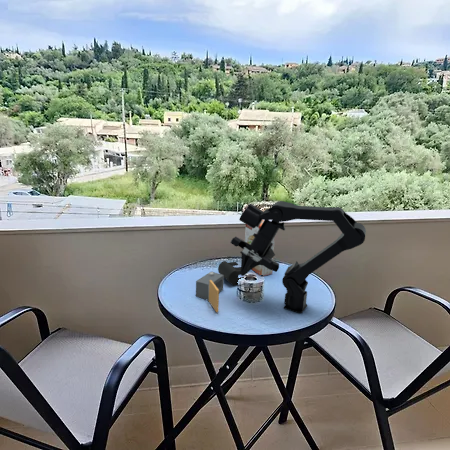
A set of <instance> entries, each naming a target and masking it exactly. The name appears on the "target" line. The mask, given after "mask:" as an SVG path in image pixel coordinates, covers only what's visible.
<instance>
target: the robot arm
mask: <svg viewBox="0 0 450 450" xmlns="http://www.w3.org/2000/svg"><path fill="white" fill-rule="evenodd" d="M262 220H264V222H263V224H262V225H261V227H260V229H259V230H258V232H257V234H255V233H254V234H253V236H254V239H253V241H252V242H251V244H248V243H247V242H245V239H242V238H240V237H237V236H234V237H233V238H232V239H231V240H230V244H232V245H233V246H234V247H236V248H237V247H238V248H241V249H242V251H240V254H241V259H240V260H241V263H240V267H241V272H240V275H239V276H241V277H245V276H246V275H247V274H248V273H249V272H251V270H252V269H253V268H254V267H256V266H258V265H263V266H265V267H266V268H268V269H270V270H273V272H276V273H277V272H278V270H279V269H280V263H279V262H277V261H275V260H274V258H273V257H275V256H276V254H275V251H274V252H273V250H272V249H271V247H272V244H273V243H271V242H272V240H273V239H274V237H275V238H276V235H277V234H278V232H279V230H281V231H283V232H284V231H286V227H285V222H288V221H293V220H304V221H305V220H306V221H307V220H308V221H309V220H311V221H323V222H324V221H325V222H326V221H327V222H333V223H334V224H335V225H336V226H337V227H338V229H339V231H340V232H341V234H340V235H339V236H338V238H337V239H335V240H334V241H333V242H331V243H330V244H328V245H327V246H325V247H324V248H323V249H321V250H320V251H319V252H317V253H316V254H314V255H313V256H311V257H310V258H309V259H307V260H305V262H302V263H299V262H298V261H297V260H296V261H295V262H294V263H293V264H292V265H290V266H289V265H288V267H287V268H286V270H285V272H284V276H283V278H282V280H281V281H282V282H281V283H282V285H283V287H284V288H285V289H286V293H284V301H283V302H284V303H283V304H284V306H283V309H285V310H288V311H291V312H294V313H298V314H302V313H303V312H304V311H305V309H307V307H308V304H307V299H308V298H307V297H308V291H307V286H308V285H309V282H308V281H307V278H308V277H309V276H310V275H311V274H313V273H314V272H315V271H317V270H318V269H319V268H321V267H322V266H324V265H326V264H327V263H328V262H330V261H331V260H332V259H334V258H335V257H337V256H339V255H340V254H341V253H342V252H345V251H349V250H352V249H354V248H356V247H359V246H361V245H362V244H364V242H365V241H366V235H367V230H366V226H365V225H363V224H362V223H360V222H357V221H356V220H355V219H354V217H352V216H351V215H349V214H348V213H347V212H346V211H345V210H344V209H343V208H342V207H341V206H340V207H339V206H335V207H332V206H331V207H330V206H311V205H310V206H308V205H305V206H304V205H298V204H294V203H292V202H288V201H284V200H278V201H276V202H275V203H273V205H272V206H270V207H269V208H265V209H264V210H262V209H260V208H259V207H256V206H255V205H254V204H252V203H249V204H248V205H247V206H246V208H245V210H244V211H243V212H242V213H241V214H240V217H239V222H241V223H243V224H245V225H246V224H247V225H248V226H250V227H252V228H253V229H254V228H255V227H257V228H258V227H259V225H260V224H261V222H262ZM252 250H253V251H252ZM252 256H254V257H252ZM272 258H273V259H272Z"/></svg>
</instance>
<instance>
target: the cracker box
mask: <svg viewBox="0 0 450 450" xmlns="http://www.w3.org/2000/svg"><path fill="white" fill-rule="evenodd" d="M263 222H264V220H262V222H261V224H260V225H259V227H258V228H257V227H255V228H254V229H253V228H252V227H250V226H248V225H247V224H245V228H244V229H245V234H244V241H245V242H247V243H248V244H251V242H252V241H253V239H254V236H253V234H254V233H255V234H257V232H258V230H259V229H260V227H261V225H262V224H263ZM275 240H276V236H275V237H274V239H273V240H272V242H271V243H273V244H272V247H271V249H272V250H273V252H274V253H275V243H276V241H275ZM252 251H253V250H252ZM252 257H254V256H252ZM274 257H275V256H274ZM274 257H273V258H272V259H273V260H274ZM251 270H252V271H253V272H254V271H255V272H254V273H256V274H257V273H258V274H257V275H259V274H260V275H263V276H262V277H265V276H270V275H273V273H274V271H273V270H270V269H268V268H266V267H265V266H263V265H258V266H256V267H254V268H253V269H251ZM260 275H259V276H260Z"/></svg>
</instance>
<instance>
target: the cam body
mask: <svg viewBox="0 0 450 450" xmlns="http://www.w3.org/2000/svg"><path fill="white" fill-rule="evenodd" d="M224 279H225V278H224V275H222V274H220V273H219V272H215V271H214V272H213V271H210V272H208V273H207V274H205V275H203V276H202V277H200V278H199V279H197V280H196V281H195V296H196V297H197V298H200V299H203V300H206V301H208V286H209V280H212V281H213V283H214V284H215V285H216V287H217V288H218V289H219V294H220V293H221V292H222V291H224Z"/></svg>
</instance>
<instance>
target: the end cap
mask: <svg viewBox="0 0 450 450" xmlns="http://www.w3.org/2000/svg"><path fill="white" fill-rule="evenodd" d="M238 265H239V263H238V262H236V261H231V262H228V261H227V260H223V261H221V262H220V264H219V265H218V266H217V267H218V268H217V271H218V272H217V273H218V274H222V275H224V279H225V280H226V281H227V282H229V284H231V285H232V286H234V287H235V286H239V285H238V283H237V282H238V280H239V279H241V278H244V277H245V276H241V275H240V272H241V266H239V267H236V266H238ZM240 276H241V277H240ZM239 277H240V278H239Z"/></svg>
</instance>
